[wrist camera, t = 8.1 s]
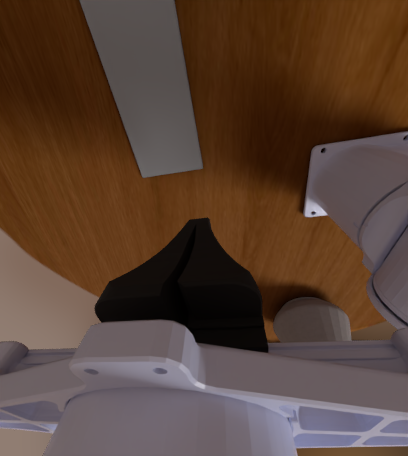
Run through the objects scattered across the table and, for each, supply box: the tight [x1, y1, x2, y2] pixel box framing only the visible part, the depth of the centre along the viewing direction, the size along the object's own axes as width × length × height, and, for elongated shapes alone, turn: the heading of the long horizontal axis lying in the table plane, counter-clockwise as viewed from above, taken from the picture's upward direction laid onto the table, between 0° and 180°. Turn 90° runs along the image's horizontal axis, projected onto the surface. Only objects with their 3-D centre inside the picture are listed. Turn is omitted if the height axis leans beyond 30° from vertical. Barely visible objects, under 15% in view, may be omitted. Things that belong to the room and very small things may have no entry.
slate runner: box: [80, 0, 203, 178], centre depth 16 cm, size 7×19×1 cm, turn 10°
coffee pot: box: [273, 297, 351, 343], centre depth 27 cm, size 21×12×15 cm, turn 81°
